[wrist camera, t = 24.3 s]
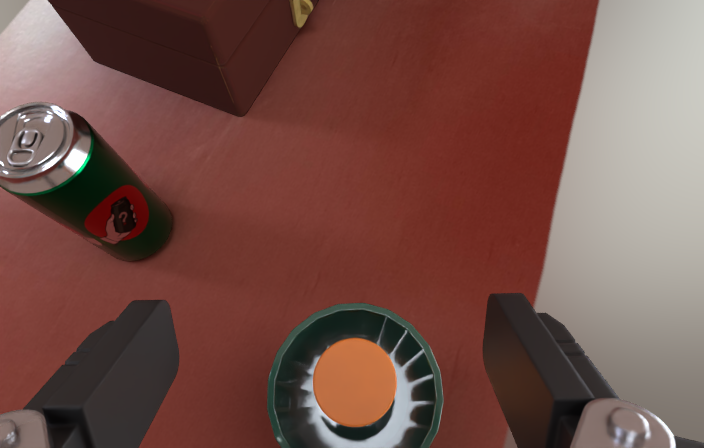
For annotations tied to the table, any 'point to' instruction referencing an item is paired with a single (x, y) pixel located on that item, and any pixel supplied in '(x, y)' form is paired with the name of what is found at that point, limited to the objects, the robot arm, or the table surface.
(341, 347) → the orange rod
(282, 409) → the green cylindrical cup
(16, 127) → the soda can
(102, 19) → the box
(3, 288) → the table surface
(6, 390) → the table surface
